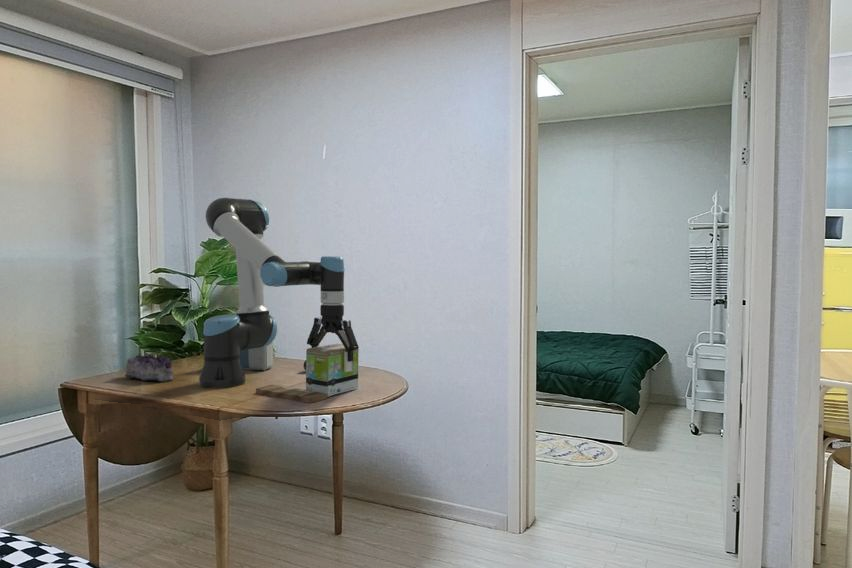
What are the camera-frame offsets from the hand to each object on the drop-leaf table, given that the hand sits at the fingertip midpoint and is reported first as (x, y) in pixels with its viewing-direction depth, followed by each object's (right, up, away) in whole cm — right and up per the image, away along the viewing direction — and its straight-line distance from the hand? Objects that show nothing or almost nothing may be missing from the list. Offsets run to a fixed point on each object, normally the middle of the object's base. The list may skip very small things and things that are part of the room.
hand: (332, 368), depth 194 cm
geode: (-68, -7, +21) cm, 71 cm away
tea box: (0, -8, 0) cm, 8 cm away
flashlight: (-10, -6, +38) cm, 40 cm away
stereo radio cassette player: (-40, -6, +39) cm, 56 cm away
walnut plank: (-12, -8, -6) cm, 16 cm away
